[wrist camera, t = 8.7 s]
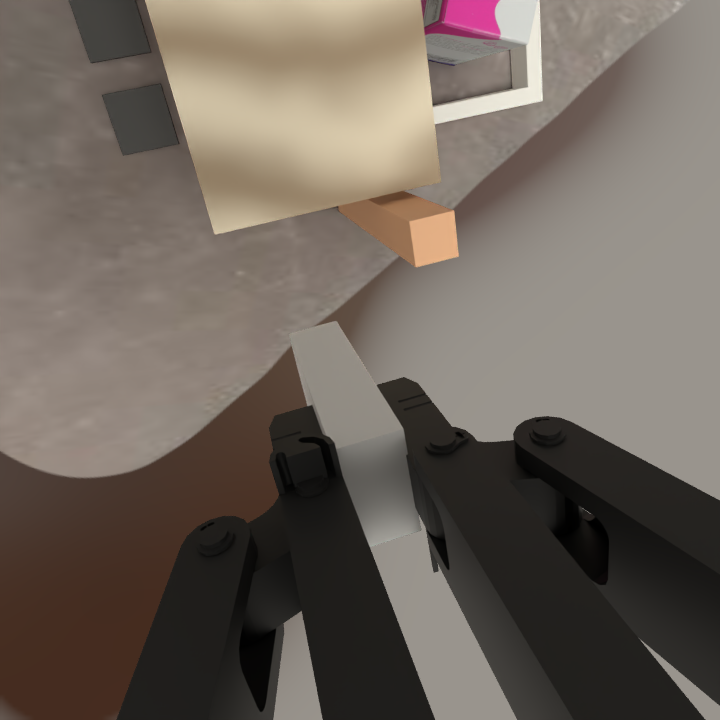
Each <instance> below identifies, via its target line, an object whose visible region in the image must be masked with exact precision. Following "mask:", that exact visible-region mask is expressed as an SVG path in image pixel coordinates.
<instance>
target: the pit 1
mask: <svg viewBox="0 0 720 720" xmlns="http://www.w3.org/2000/svg"><path fill="white" fill-rule="evenodd" d="M69 2H70V5H71V8H72V11H73V14H74V17H75V19H76V22H77V25H78V28H79V31H80V34H81V37H82V39H83V42H84V45H85V48H86V51H87V54H88V57H89V59H90V62H91V63H95V62H101V61H106V60H112V59H117V58H123V57H128V56H134V55H139V54H145V53H150V52H151V51H150V47H149V44H148V41H147V37H146V34H145V31H144V28H143V24H142V21H141V18H140V14H139V11H138V8H137V5H136V1H135V0H69Z"/></svg>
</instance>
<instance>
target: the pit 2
mask: <svg viewBox="0 0 720 720" xmlns="http://www.w3.org/2000/svg"><path fill="white" fill-rule="evenodd" d="M102 97H103V100H104V102H105V105H106V108H107V111H108V114H109V117H110V120H111V122H112V125H113V128H114V131H115V134H116V137H117V140H118V143H119V145H120V148H121V151H122V154H123V155H128V154H133V153H138V152H143V151H147V150H152V149H157V148H162V147H167V146H171V145H176V144H179V143H178V139H177V136H176V133H175V129H174V126H173V123H172V120H171V116H170V113H169V110H168V106H167V103H166V100H165V97H164V93H163V90H162V87H161V84H157V85H152V86H147V87H141V88H136V89H131V90H126V91H120V92H115V93H110V94H105V95H102Z"/></svg>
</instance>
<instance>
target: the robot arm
mask: <svg viewBox="0 0 720 720" xmlns="http://www.w3.org/2000/svg"><path fill="white" fill-rule="evenodd" d="M289 337H290V341H291V345H292V349H293V352H294V356H295V360H296V364H297V367H298V372H299V375H300V379H301V383H302V387H303V391H304V394H305V398H306V402H307V407H303V408H300V409H296V410H293V411H290V412H286V413H283V414H280V415H276V416H275V417H274V419H273V421H272V423H271V425H270V427H269V431H270V436H271V441H272V446H273V452H272V453H271V455H270V461H269V463H270V467H271V470H272V473H273V476H274V479H275V483H276V486H277V489H278V492H279V497H278V499H277V500H276V502H275V503H274V505H273V506H272V507H271V508H270V509H269V510H268V511H267V512H265V513H264V514H263V515H261V516H260V517H258V518H256V519H254V520H253V521H251V522H249V523H246V521H245V520H244V519H241V518H239V517H236V516H222V517H218V518H215V519H211V520H209V521H207V522H205V523H203V524H201V525H200V526H198V527H197V528H195V529H194V530H193V531H192V532H191V533H190V534H189V535H188V536H187V537H186V539H185V541H184V542H183V544H182V546H181V548H180V551H179V553H178V556H177V559H176V561H175V564H174V567H173V570H172V572H171V575H170V578H169V580H168V583H167V586H166V588H165V591H164V594H163V596H162V599H161V602H160V604H159V607H158V610H157V613H156V615H155V618H154V621H153V623H152V626H151V628H150V631H149V634H148V637H147V639H146V642H145V645H144V647H143V650H142V653H141V655H140V658H139V661H138V664H137V667H136V669H135V672H134V674H133V677H132V680H131V682H130V685H129V688H128V690H127V693H126V696H125V698H124V701H123V704H122V706H121V710H120V712H119V715H118V717H117V720H273V717H274V709H275V701H276V693H277V685H278V676H279V669H280V661H281V653H282V644H283V636H284V624H283V623H284V622H286V621H287V620H289V619H290V618H292V617H293V616H294V615H296V614H297V613H299V612H300V611H302V614H303V620H304V624H305V630H306V635H307V640H308V646H309V650H310V656H311V661H312V666H313V671H314V677H315V682H316V686H317V692H318V697H319V702H320V707H321V713H322V718H323V720H435V718H434V716H433V713H432V710H431V708H430V705H429V702H428V700H427V697H426V694H425V692H424V689H423V687H422V684H421V682H420V679H419V676H418V674H417V671H416V668H415V665H414V663H413V660H412V658H411V655H410V652H409V650H408V647H407V644H406V642H405V639H404V636H403V634H402V631H401V629H400V626H399V623H398V621H397V618H396V615H395V613H394V610H393V607H392V605H391V602H390V599H389V597H388V594H387V592H386V589H385V586H384V584H383V581H382V578H381V576H380V573H379V570H378V568H377V565H376V562H375V560H374V557H373V554H372V552H371V550H370V547H373V546H376V545H379V544H382V543H385V542H388V541H390V540H394V539H397V538H400V537H402V536H406V535H409V534H412V533H415V532H418V531H421V526H420V520H419V515H420V517H421V519H422V521H423V523H424V525H425V527H426V532H427V538H428V544H429V549H430V554H431V561H432V566H433V571H434V572H437V571H438V564H439V567H440V569H441V570H442V573H443V574H444V576H445V578H446V580H447V582H448V584H449V586H450V588H451V590H452V592H453V594H454V596H455V598H456V600H457V602H458V604H459V606H460V608H461V610H462V612H463V614H464V616H465V618H466V620H467V622H468V624H469V626H470V628H471V630H472V632H473V633H474V635H475V637H476V639H477V641H478V643H479V645H480V647H481V649H482V651H483V653H484V655H485V657H486V659H487V661H488V663H489V665H490V667H491V669H492V671H493V673H494V675H495V677H496V679H497V681H498V683H499V685H500V687H501V689H502V690H503V693H504V695H505V696H506V698H507V700H508V702H509V704H510V706H511V708H512V710H513V712H514V714H515V716H516V718H517V720H705V719H704V718H703V716H702V715H701V714H700V713H699V711H698V710H697V709H696V708H695V707H694V705H693V704H692V703H691V702H690V701H689V699H688V698H687V697H686V696H685V694H684V693H683V692H682V691H681V690H680V688H679V687H678V686H677V685H676V683H675V682H674V681H673V680H672V679H671V677H670V676H669V675H668V674H667V672H666V671H665V670H664V669H663V668H662V666H661V665H660V664H659V663H658V661H657V660H656V659H655V658H654V656H653V655H652V654H651V653H650V652H649V650H648V649H647V648H646V647H645V646H644V644H643V643H642V642H641V641H640V639H641V640H642V641H643V642H644V643H646V644H647V645H648V646H649V647H650V648H652V649H653V650H654V651H655V652H656V653H658V654H659V655H660V656H661V657H662V658H663V659H665V660H666V661H667V662H668V663H669V664H671V665H672V666H673V667H674V668H675V669H677V670H678V671H679V672H680V673H681V674H683V675H684V676H685V677H686V678H687V679H689V680H690V681H691V682H692V683H693V684H695V685H696V686H697V687H698V688H699V689H701V690H702V691H703V692H704V693H705V694H706V695H708V696H709V697H710V698H711V699H712V700H714V701H715V702H716V703H717V704H719V705H720V500H718V499H716V498H714V497H712V496H710V495H708V494H706V493H705V492H702V491H701V490H699V489H697V488H695V487H693V486H691V485H689V484H688V483H686V482H684V481H682V480H680V479H678V478H676V477H674V476H672V475H671V474H669V473H666V472H665V471H663V470H661V469H659V468H657V467H655V466H654V465H652V464H650V463H648V462H646V461H644V460H642V459H640V458H638V457H637V456H635V455H633V454H631V453H629V452H627V451H625V450H623V449H621V448H620V447H617V446H615V445H614V444H612V443H610V442H608V441H606V440H604V439H603V438H601V437H599V436H597V435H595V434H593V433H591V432H589V431H587V430H586V429H584V428H582V427H580V426H578V425H576V424H574V423H572V422H570V421H567V420H565V419H562V418H557V417H549V416H546V417H535V418H532V419H529V420H526V421H524V422H522V423H521V424H520V425H518V426H517V427H516V429H515V431H514V434H513V435H514V440H511V441H500V442H478V441H477V440H476V439H475V438H474V437H473V436H472V435H471V434H470V433H468V432H467V431H466V430H463V429H460V428H457V427H452V426H451V425H450V424H449V422H448V421H447V420H446V419H445V417H444V416H443V415H442V413H441V412H440V411H439V410H438V408H437V407H436V406H435V405H434V403H432V401H431V400H430V398H429V397H428V396H427V395H426V393H425V392H424V391H423V389H422V388H421V387H420V385H419V384H418V383H416V382H414V381H412V380H409V379H407V378H405V377H403V378H399V379H396V380H392V381H389V382H386V383H382V384H378V385H376V384H375V382H374V381H373V379H372V377H371V376H370V374H369V373H368V371H367V369H366V368H365V366H364V365H363V363H362V361H361V360H360V358H359V357H358V355H357V353H356V352H355V350H354V349H353V347H352V345H351V344H350V342H349V341H348V339H347V337H346V336H345V334H344V333H343V331H342V329H341V328H340V327H339V325H338V323H337V321H334V322H330V323H327V324H323V325H319V326H315V327H311V328H308V329H304V330H300V331H296V332H293V333H289ZM582 508H584V509H585V510H586V511H585V510H584V509H582ZM587 511H588V512H589V513H591V514H589V513H588V512H587ZM437 563H438V564H437ZM639 638H640V639H639Z"/></svg>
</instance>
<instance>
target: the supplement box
mask: <svg viewBox="0 0 720 720" xmlns="http://www.w3.org/2000/svg"><path fill="white" fill-rule="evenodd" d="M537 2H538V0H421V6H422V15H423V24H424V33H425V42H426V51H427V60H429V61H434V62H438V63H443V64H448V65H453V66H455V65H456V64H460V63H463V62H466V61H470V60H474V59H477V58H481V57H485V56H488V55H492V54H496V53H500V52H503V51H506V50H510V49H514V48H517V47H521V46H524V45H527V44H528V43H529V38H530V34H531V29H532V24H533V20H534V15H535V11H536V6H537Z"/></svg>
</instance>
